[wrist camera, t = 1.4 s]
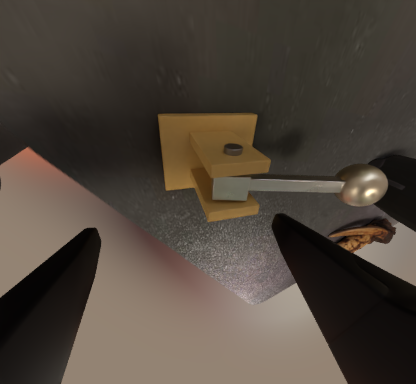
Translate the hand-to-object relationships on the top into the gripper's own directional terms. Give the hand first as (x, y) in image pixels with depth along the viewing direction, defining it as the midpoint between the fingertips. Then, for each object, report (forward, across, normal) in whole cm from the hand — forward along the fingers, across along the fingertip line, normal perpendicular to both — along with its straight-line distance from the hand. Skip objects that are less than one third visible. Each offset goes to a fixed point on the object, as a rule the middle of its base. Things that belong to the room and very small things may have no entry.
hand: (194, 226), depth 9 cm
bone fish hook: (+16, -38, +22) cm, 46 cm away
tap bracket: (+13, -3, +1) cm, 13 cm away
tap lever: (+6, -10, +1) cm, 12 cm away
